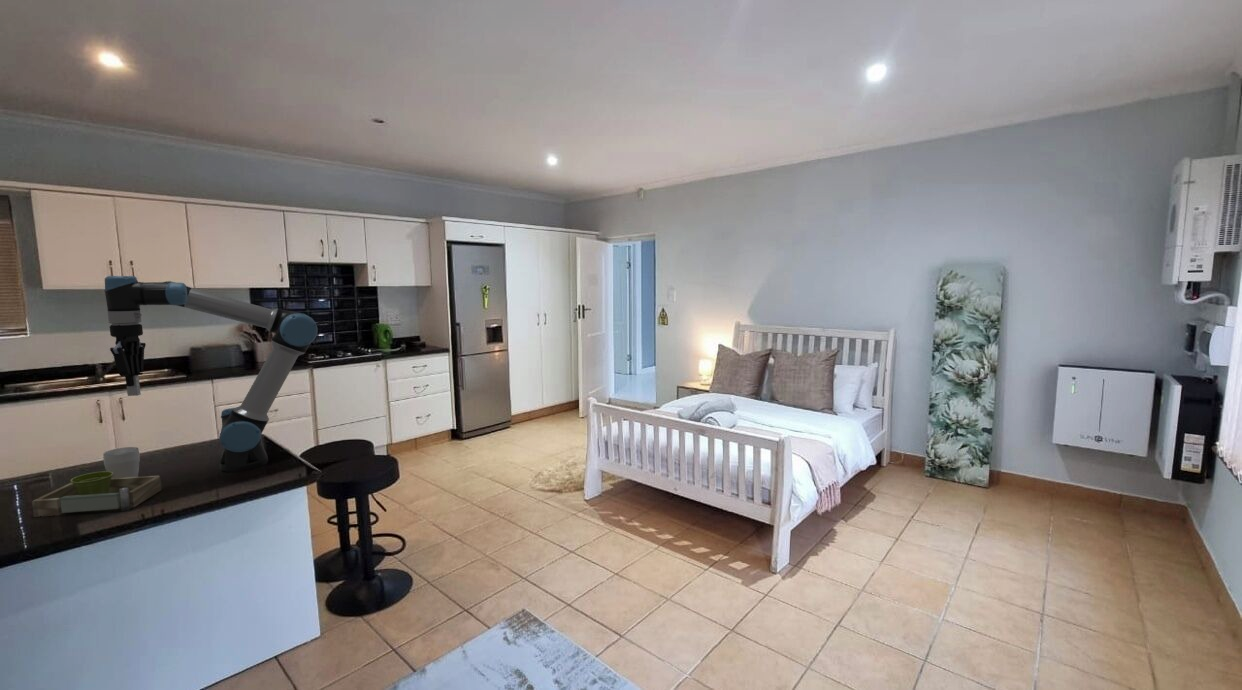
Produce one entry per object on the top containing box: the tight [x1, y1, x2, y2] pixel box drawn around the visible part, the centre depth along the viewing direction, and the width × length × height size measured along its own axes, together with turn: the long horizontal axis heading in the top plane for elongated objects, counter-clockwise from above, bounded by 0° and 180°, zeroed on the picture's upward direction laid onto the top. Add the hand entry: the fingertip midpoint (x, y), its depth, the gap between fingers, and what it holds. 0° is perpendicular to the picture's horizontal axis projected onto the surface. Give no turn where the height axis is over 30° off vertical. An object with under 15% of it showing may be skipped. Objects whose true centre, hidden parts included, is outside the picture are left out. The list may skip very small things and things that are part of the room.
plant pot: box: [70, 470, 113, 495], centre depth 160 cm, size 9×9×9 cm
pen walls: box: [31, 475, 162, 518], centre depth 160 cm, size 24×16×5 cm
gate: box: [60, 493, 121, 514], centre depth 153 cm, size 14×1×5 cm, turn 105°
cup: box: [102, 446, 141, 478], centre depth 174 cm, size 9×9×12 cm
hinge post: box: [119, 487, 131, 512], centre depth 156 cm, size 2×2×7 cm
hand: (134, 395), depth 164 cm, fingers closed
